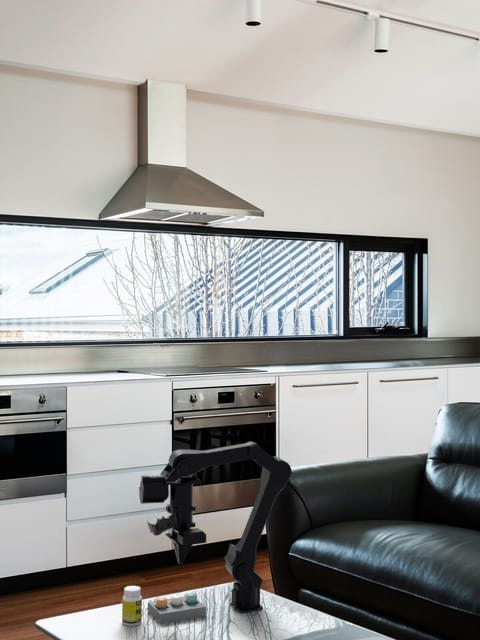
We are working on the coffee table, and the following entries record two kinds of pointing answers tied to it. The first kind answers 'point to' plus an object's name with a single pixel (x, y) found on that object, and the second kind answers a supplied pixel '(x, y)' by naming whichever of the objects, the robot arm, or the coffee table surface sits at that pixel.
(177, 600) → the cream white egg
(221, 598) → the coffee table surface
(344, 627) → the coffee table surface
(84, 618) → the coffee table surface
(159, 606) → the peach orange egg
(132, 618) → the supplement bottle
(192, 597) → the light blue egg
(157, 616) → the panel
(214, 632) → the coffee table surface
